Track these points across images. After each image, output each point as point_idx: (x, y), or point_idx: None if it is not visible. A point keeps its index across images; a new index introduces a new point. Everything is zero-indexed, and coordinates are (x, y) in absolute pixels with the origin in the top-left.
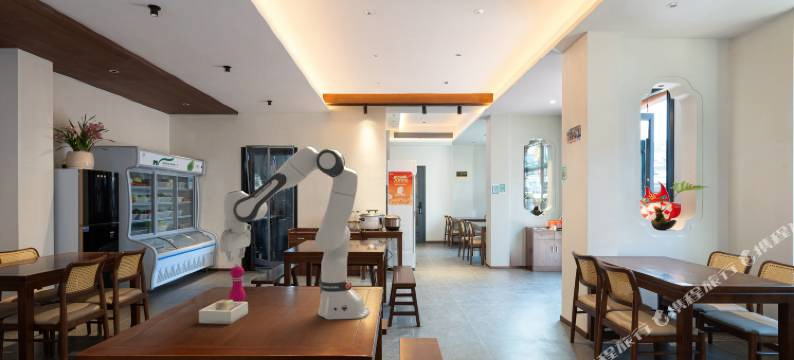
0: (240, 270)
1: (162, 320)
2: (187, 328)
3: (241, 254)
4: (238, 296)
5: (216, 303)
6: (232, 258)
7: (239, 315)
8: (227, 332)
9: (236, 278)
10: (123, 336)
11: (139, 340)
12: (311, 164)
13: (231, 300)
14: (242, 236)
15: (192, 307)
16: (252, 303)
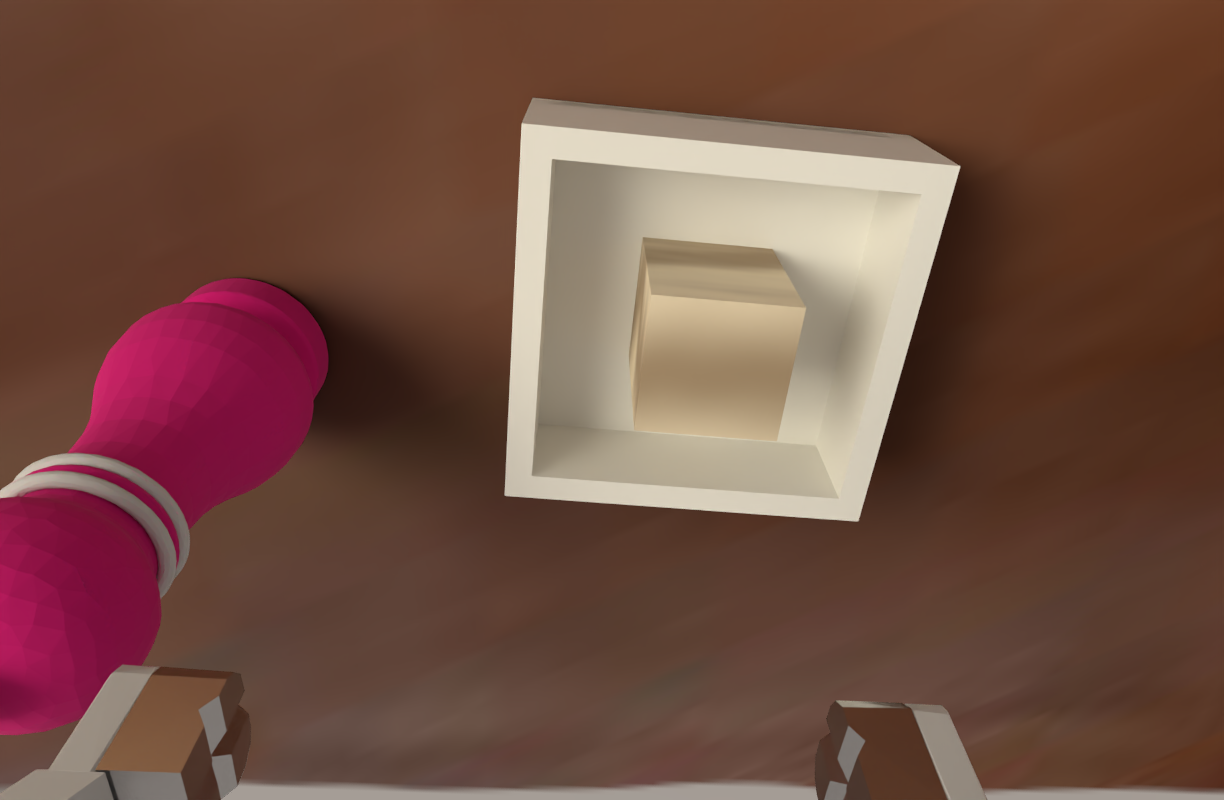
0: (43, 566)
1: (725, 725)
2: (967, 475)
3: (195, 782)
4: (276, 360)
5: (776, 428)
6: (909, 766)
7: (738, 124)
8: (1196, 49)
9: (164, 528)
10: (1050, 763)
11: (1170, 646)
12: None
13: (674, 304)
14: None
15: (372, 695)
16: (118, 214)
